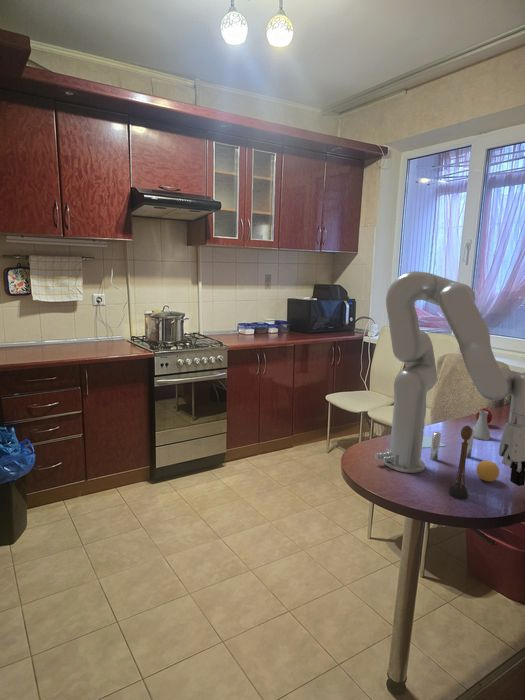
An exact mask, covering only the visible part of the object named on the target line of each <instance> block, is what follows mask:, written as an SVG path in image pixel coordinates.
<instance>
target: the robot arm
mask: <svg viewBox="0 0 525 700" xmlns="http://www.w3.org/2000/svg"><path fill="white" fill-rule="evenodd" d="M417 301H425V302H427V303H429V304H430V303H431V304H433V305H436V306H439V308H440V310H441V312H442V314H443V315H444V318H445V319H446V321H447V323H448V326H449V327H450V329H451V331H452V334H453V335H454V337H455V340H456V341H457V344H458V347H459V352H460V354H461V356H462V359H463V362H464V364H465V368H466V370H467V372H468V374H469V377H470V379H471V380H472V382H473V385H474V386H475V388H476V389H477V391H478V393H479V394H480V395H481V397H483V398H484V399H486V400H489V401H493V402H496V401H500V400H503V399H504V398H506V397H507V396H508V395H510V396H511V399H510V406H509V415H508V422H507V421H506V423H505V424H504V427H503V431H502V433H501V439H500V444H499V447H498V448H499V449H498V450H499V451H498V455H499V457H503V458H502V461H501V463H502V464H503V465H504V466H508V467H509V468H510V469H511V471H510V479H509V481H510V482H511V483H512V484H514V485H516V486H518V487H520V486H525V372H520V371H514V370H511V369H507V368H505V367H500V366H499V364H498V362H497V359H496V358H495V355H494V353H493V350H492V349H493V348H492V345H491V333H490V330H489V327H488V325H487V324H486V322H485V320H484V317H483V316H482V314H481V313H480V310H479V309H478V307H477V304H476V294H475V291H474V289H473V288H472V287H471V286H469V285H468V284H465V283H461V282H459V281H455V280H452V279H448V278H446V277H443V276H439V275H436V274H433V273H432V272H431V273H430V272H425V271H408V272H406V273H403V274H401V275H400V276H398V277H397V278H396V279H395V280H394V281H393V282H392V283H391V284H390V286H389V288H388V291H387V293H386V298H385V305H386V312H387V313H386V314H387V318H388V325H389V326H388V327H389V333H390V340H391V348H392V353H393V355H394V357H395V358H396V359H397V360H398V361H399V362H402V363H404V365H405V367H404V368H403V369H401V370H400V371H399V372H398V373H397V374H396V376H395V378H394V382H393V410H392V420H391V421H392V422H391V431H390V432H391V433H390V440H389V447H388V448H387V447H386V449H385V451H383V452H375V453H374V459H376V460H382V461H383V464H384V465H385V466H387V467H388V468H390V469H391V470H394V471H397V472H401V473H409V474H415V473H416V474H417V473H421V472H423V471H424V470H425V469H426V463H425V462H424V461H423V460H422V458H421V456H422V450H423V448H422V442H423V436H424V433H425V424H426V413H427V393H428V392H429V391H431V390H432V389H433V388H434V387H435V386H436V383H437V379H438V372H437V366H436V359H435V353H434V352H435V351H434V347H433V342H432V339H431V337H430V335H429V334H428V333H427V332H426V331H424V330H422V329H420V324H419V317H418V313H417V310H416V306H415V305H416V302H417Z"/></svg>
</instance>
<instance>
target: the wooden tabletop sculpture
mask: <svg viewBox="0 0 525 700" xmlns="http://www.w3.org/2000/svg"><path fill="white" fill-rule="evenodd" d="M472 431H473V428H472V427H471V426H470V425H465V426H463V427H462V428H461V431H460V438H461V439H462V440H463V442H461V449H460V457H459V463H458V469H457V472H456V475H455V476H456V477H455V480H454V482H453V484H452V485H451V486H450V487H449V489H448V494H449V496H451V497H452V498H454V499H458V500H467V499H468V498H469V492H468V488H467V487H466V482H465V481H466V480H465V479H466V478H465V473H466V472H465V471H466V461H467V458H466V454H467V447H468V443H467V440H469V439H470V438H471V436H472Z"/></svg>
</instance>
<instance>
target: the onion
mask: <svg viewBox="0 0 525 700" xmlns="http://www.w3.org/2000/svg"><path fill="white" fill-rule="evenodd" d="M479 411H486V412H488V415H487V424H488V425H489V424H490V423H492V420H493V415H492V412H491V411H490V410H489V409H488V407H487V406H484V407H483V408H481V409H479V410H478V411H477V413H476V415H475V417H476V420H477V421H478V418H479V414H480V413H479Z"/></svg>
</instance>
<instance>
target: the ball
mask: <svg viewBox="0 0 525 700" xmlns="http://www.w3.org/2000/svg"><path fill="white" fill-rule="evenodd" d="M476 474H477V477H479V479H481V480H483V481H485V482H493V481H495V480H496V479H498V478H499V476H500V468H499V466H498V465H497V464H496V463H495V462H494V461H491V460H487V459H486V460H482V461H481V462H479V463H477V466H476Z"/></svg>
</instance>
